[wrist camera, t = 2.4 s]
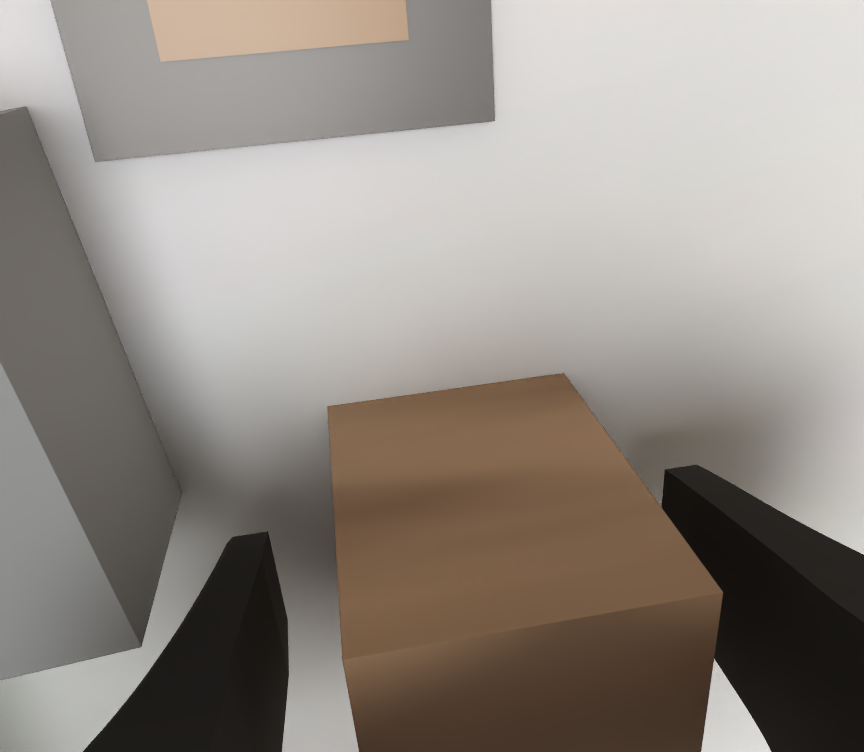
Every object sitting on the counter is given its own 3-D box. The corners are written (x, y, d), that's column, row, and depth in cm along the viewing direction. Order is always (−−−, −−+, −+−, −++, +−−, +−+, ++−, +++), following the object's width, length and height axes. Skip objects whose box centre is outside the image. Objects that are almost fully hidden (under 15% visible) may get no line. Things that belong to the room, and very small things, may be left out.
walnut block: (561, 556, 16) (690, 825, 11) (357, 590, 15) (385, 890, 10) (563, 372, 14) (723, 592, 9) (327, 405, 13) (343, 660, 8)
